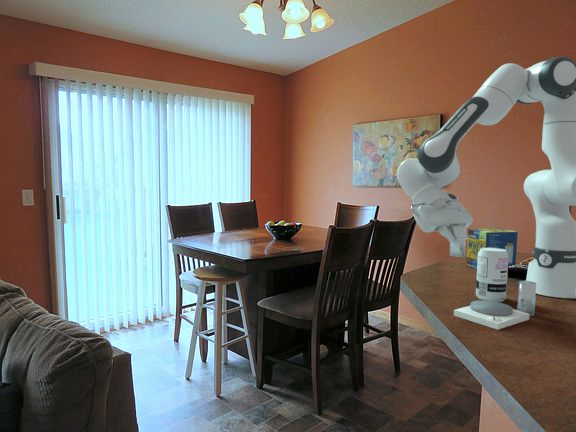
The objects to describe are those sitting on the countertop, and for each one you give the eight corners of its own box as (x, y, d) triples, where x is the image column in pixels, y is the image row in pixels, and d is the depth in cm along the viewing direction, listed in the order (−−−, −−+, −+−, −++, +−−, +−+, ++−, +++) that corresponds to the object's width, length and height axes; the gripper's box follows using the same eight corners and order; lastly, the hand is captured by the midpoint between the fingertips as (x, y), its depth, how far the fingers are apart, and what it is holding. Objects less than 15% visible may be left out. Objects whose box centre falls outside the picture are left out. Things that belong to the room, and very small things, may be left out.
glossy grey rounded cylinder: (455, 253, 121) (456, 224, 120) (468, 255, 117) (469, 225, 117) (446, 255, 119) (447, 225, 118) (459, 257, 115) (460, 226, 114)
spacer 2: (522, 310, 114) (524, 280, 113) (537, 314, 111) (539, 283, 110) (514, 312, 112) (515, 281, 111) (529, 317, 108) (531, 285, 108)
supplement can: (479, 293, 130) (482, 246, 129) (508, 298, 125) (511, 249, 124) (472, 299, 124) (474, 249, 123) (502, 304, 119) (505, 252, 118)
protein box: (465, 266, 172) (467, 228, 171) (496, 264, 176) (498, 228, 175) (483, 271, 162) (485, 232, 161) (516, 269, 166) (518, 231, 165)
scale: (485, 307, 117) (485, 298, 116) (529, 319, 106) (529, 309, 106) (453, 315, 109) (454, 306, 109) (497, 329, 99) (498, 319, 99)
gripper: (414, 197, 117) (443, 235, 109) (459, 195, 128) (488, 230, 120) (402, 211, 121) (428, 250, 113) (446, 209, 132) (473, 243, 124)
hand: (459, 239), depth 117 cm, fingers closed on glossy grey rounded cylinder, 4 cm apart
